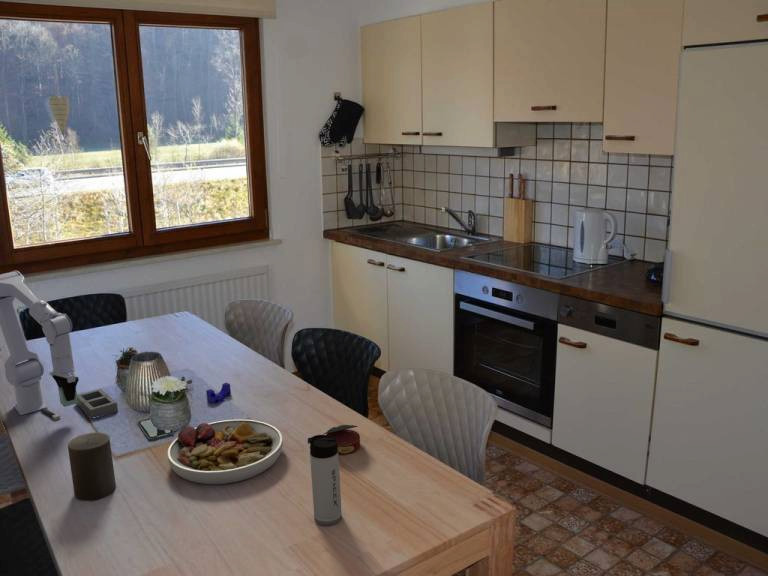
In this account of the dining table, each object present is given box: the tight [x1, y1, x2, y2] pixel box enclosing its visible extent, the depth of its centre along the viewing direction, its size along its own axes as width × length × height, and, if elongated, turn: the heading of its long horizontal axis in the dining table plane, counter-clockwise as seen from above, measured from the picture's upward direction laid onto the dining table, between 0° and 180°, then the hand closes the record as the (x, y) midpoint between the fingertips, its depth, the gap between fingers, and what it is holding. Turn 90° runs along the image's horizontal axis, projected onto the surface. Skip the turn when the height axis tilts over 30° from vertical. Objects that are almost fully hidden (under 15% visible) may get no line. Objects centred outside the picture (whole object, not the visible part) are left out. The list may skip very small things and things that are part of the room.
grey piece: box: [76, 388, 119, 419], centre depth 228 cm, size 15×8×3 cm, turn 39°
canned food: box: [323, 424, 361, 456], centre depth 197 cm, size 11×10×10 cm
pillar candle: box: [67, 432, 117, 502], centre depth 178 cm, size 10×10×15 cm
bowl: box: [166, 419, 284, 485], centre depth 192 cm, size 30×30×8 cm
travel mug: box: [307, 434, 343, 527], centre depth 162 cm, size 6×7×20 cm
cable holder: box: [205, 382, 232, 405], centre depth 232 cm, size 8×4×4 cm, turn 141°
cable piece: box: [40, 408, 61, 421], centre depth 224 cm, size 10×1×1 cm, turn 49°
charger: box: [57, 387, 78, 408], centre depth 218 cm, size 4×4×5 cm
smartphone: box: [137, 417, 175, 442], centre depth 213 cm, size 7×1×15 cm
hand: (68, 397), depth 218 cm, fingers closed on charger, 4 cm apart
